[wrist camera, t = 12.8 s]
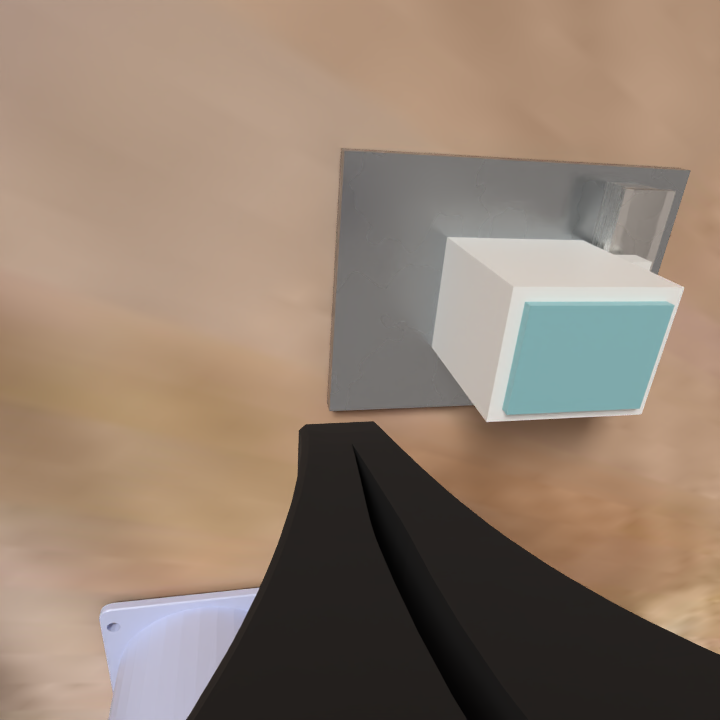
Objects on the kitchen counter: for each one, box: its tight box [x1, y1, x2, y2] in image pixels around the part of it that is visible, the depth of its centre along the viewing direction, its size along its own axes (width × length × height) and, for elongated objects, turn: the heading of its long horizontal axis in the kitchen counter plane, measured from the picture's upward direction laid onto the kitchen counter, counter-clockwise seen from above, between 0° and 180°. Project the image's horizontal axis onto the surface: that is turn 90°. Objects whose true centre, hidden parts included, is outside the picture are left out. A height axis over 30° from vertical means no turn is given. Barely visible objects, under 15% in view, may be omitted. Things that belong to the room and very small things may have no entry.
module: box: [432, 237, 684, 422], centre depth 18 cm, size 4×6×5 cm
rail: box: [590, 182, 676, 272], centre depth 20 cm, size 8×2×2 cm, turn 176°
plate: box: [327, 148, 690, 411], centre depth 20 cm, size 9×12×1 cm
